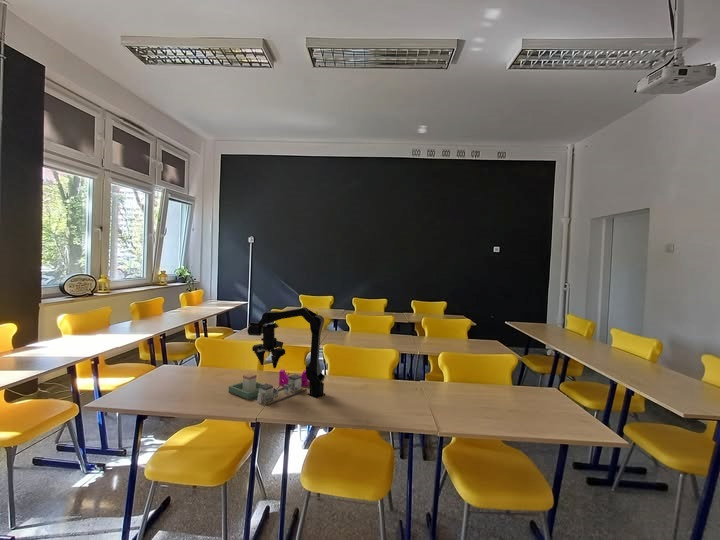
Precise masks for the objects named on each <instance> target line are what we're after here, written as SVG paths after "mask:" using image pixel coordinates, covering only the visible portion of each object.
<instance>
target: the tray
mask: <svg viewBox="0 0 720 540" xmlns="http://www.w3.org/2000/svg"><path fill="white" fill-rule="evenodd" d="M263 384H264V383H261V382H258V381H256V390H255V391H252V392H249V393H248V392H246V391H243V381H242V382H241V381H240V382H238V383H236V384H230V385H229V386H228V393H229V394H232V395H235V396H237V397H240V398H242V399H244V400H247V401H249V400H252V398H255V397H258V393H259V386H260V385H263Z"/></svg>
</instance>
